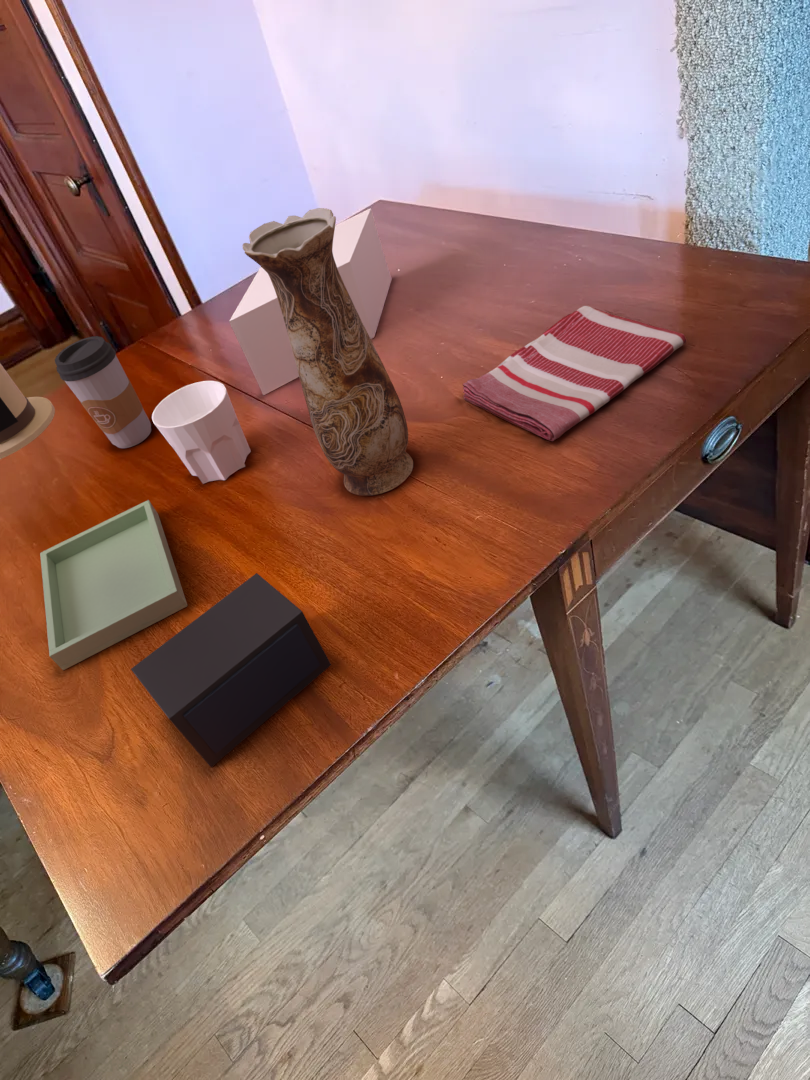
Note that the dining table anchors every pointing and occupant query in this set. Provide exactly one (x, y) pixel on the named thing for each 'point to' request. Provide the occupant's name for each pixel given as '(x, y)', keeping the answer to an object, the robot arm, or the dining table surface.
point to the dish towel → (571, 370)
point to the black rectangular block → (233, 667)
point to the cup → (203, 430)
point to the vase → (334, 354)
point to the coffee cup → (104, 390)
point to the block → (262, 314)
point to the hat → (22, 416)
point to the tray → (108, 584)
